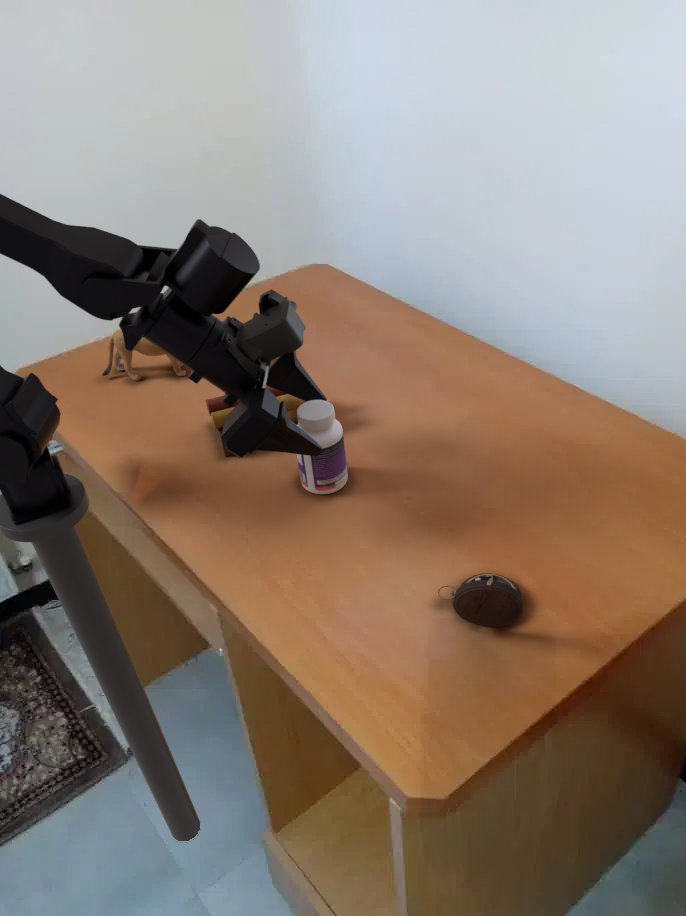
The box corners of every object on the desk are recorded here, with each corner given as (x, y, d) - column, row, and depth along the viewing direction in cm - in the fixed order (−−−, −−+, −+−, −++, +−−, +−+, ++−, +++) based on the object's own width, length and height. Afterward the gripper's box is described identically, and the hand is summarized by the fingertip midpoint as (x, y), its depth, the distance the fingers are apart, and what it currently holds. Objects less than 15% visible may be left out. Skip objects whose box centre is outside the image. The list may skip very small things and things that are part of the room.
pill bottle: (356, 472, 91) (349, 401, 85) (334, 500, 88) (325, 428, 81) (315, 461, 93) (305, 391, 86) (292, 489, 89) (280, 417, 83)
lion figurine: (209, 354, 113) (196, 295, 107) (211, 373, 109) (197, 313, 103) (103, 370, 111) (84, 310, 105) (102, 389, 107) (81, 329, 101)
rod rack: (222, 457, 94) (214, 423, 91) (210, 426, 99) (202, 392, 96) (326, 430, 98) (322, 396, 94) (309, 402, 102) (305, 368, 99)
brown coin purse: (522, 581, 77) (528, 526, 72) (519, 644, 72) (524, 589, 67) (441, 574, 79) (441, 520, 74) (431, 635, 73) (430, 581, 68)
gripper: (233, 332, 67) (371, 432, 74) (258, 243, 81) (372, 334, 88) (164, 413, 73) (298, 499, 80) (198, 316, 87) (310, 397, 94)
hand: (322, 426), depth 85 cm, fingers open, 9 cm apart
